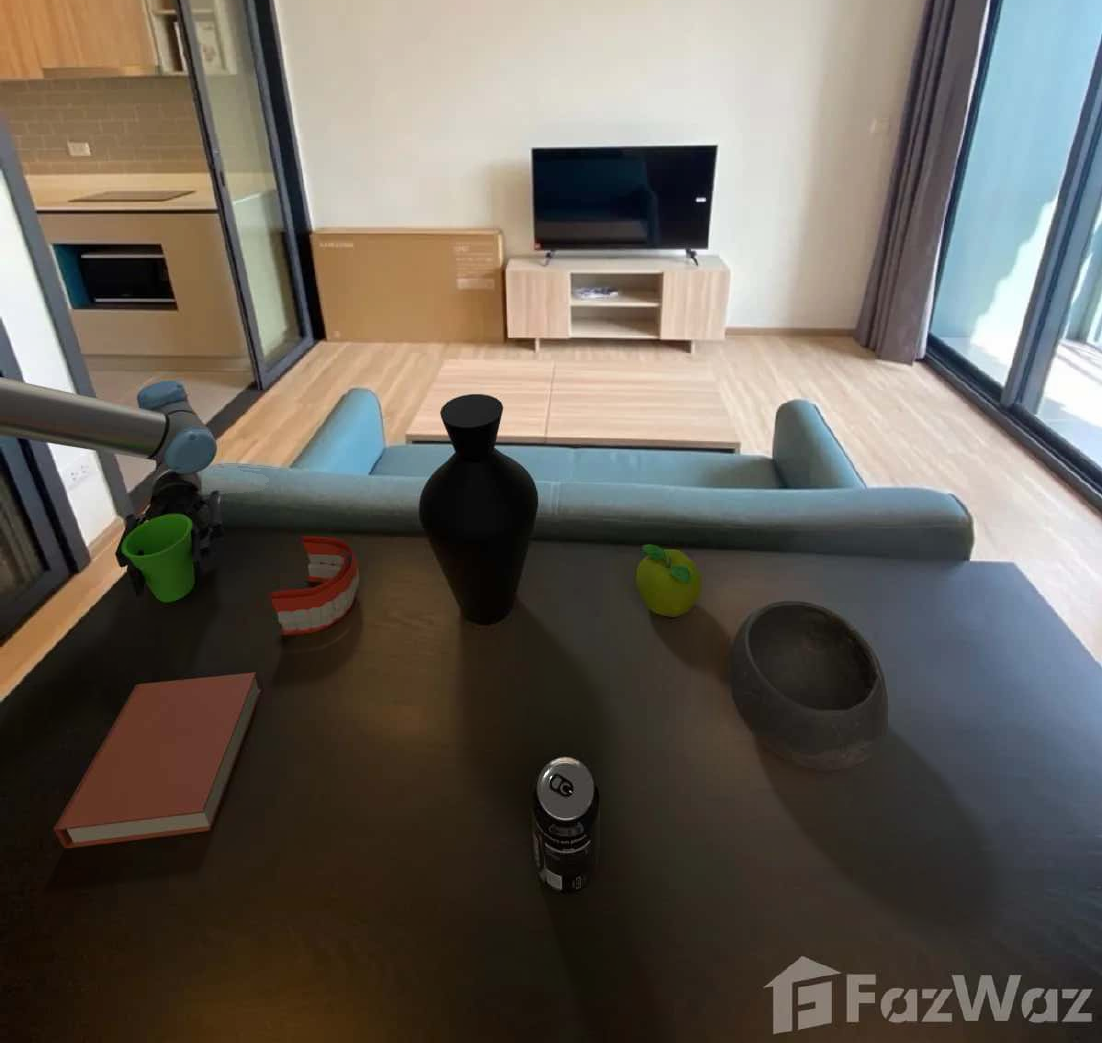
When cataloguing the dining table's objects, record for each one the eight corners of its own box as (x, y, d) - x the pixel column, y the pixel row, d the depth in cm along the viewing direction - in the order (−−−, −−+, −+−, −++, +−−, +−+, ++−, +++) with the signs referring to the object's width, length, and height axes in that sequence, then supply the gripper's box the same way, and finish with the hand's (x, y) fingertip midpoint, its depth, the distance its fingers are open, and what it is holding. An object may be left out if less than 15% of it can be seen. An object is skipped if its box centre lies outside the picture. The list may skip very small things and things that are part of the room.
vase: (420, 581, 97) (395, 395, 83) (517, 547, 103) (508, 369, 90) (449, 670, 82) (424, 462, 69) (560, 624, 89) (556, 425, 76)
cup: (158, 624, 86) (137, 566, 82) (131, 595, 91) (110, 540, 87) (219, 583, 93) (203, 528, 89) (191, 558, 98) (174, 505, 94)
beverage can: (554, 806, 67) (552, 737, 62) (609, 843, 64) (611, 772, 59) (521, 872, 61) (517, 802, 57) (580, 916, 58) (580, 845, 54)
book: (64, 848, 64) (53, 829, 63) (143, 702, 79) (136, 684, 77) (210, 830, 65) (202, 811, 64) (261, 690, 80) (255, 672, 79)
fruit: (663, 642, 85) (667, 591, 82) (624, 596, 93) (626, 547, 89) (710, 614, 90) (716, 564, 86) (669, 573, 97) (673, 525, 93)
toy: (348, 639, 87) (339, 599, 84) (278, 639, 87) (267, 599, 84) (372, 572, 99) (366, 534, 95) (311, 572, 99) (302, 535, 96)
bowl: (907, 744, 72) (930, 673, 67) (811, 837, 64) (830, 763, 59) (785, 634, 86) (797, 569, 82) (694, 698, 78) (701, 629, 73)
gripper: (243, 487, 111) (248, 572, 92) (116, 523, 102) (93, 625, 83) (235, 454, 108) (238, 534, 89) (103, 488, 99) (76, 584, 80)
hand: (168, 578), depth 86 cm, fingers closed on cup, 7 cm apart
